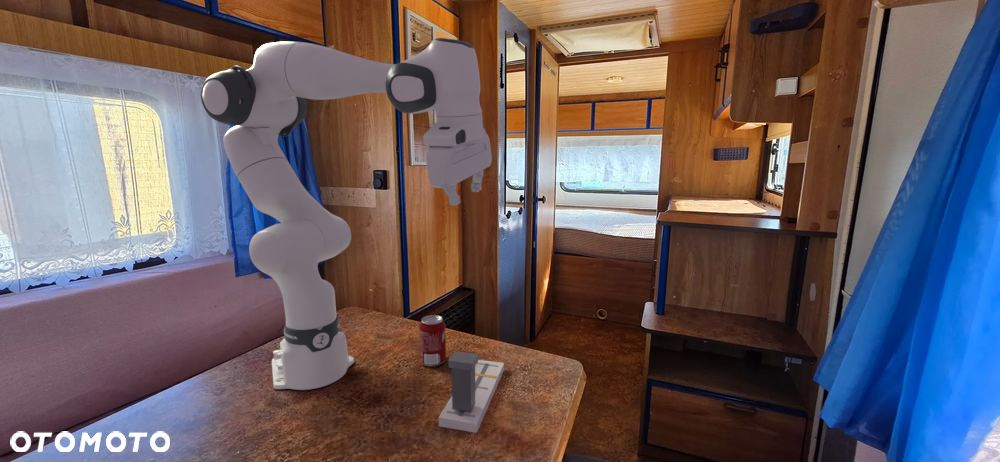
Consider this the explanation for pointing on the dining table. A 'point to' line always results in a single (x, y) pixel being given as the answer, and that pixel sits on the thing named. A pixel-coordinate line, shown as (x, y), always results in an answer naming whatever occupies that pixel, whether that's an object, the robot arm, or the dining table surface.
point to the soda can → (432, 340)
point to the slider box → (484, 391)
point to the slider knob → (463, 380)
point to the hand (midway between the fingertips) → (466, 197)
